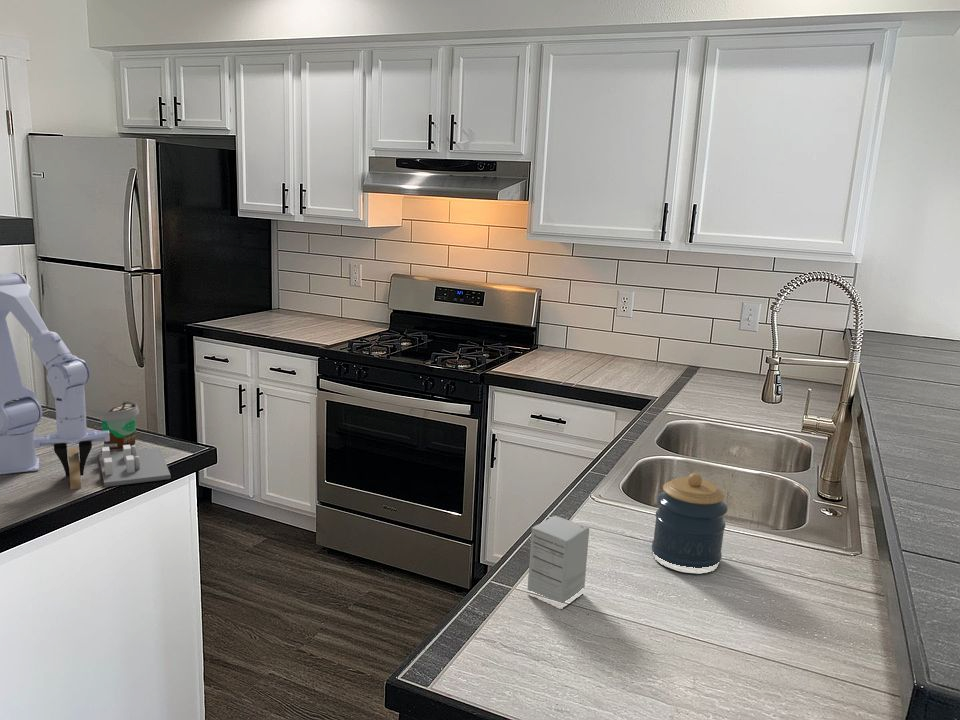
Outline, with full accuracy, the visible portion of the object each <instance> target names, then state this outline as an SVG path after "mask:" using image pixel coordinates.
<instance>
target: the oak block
mask: <svg viewBox="0 0 960 720" xmlns="http://www.w3.org/2000/svg"><path fill="white" fill-rule="evenodd" d="M67 457H68V464H69V473H70V477H69V484H70V485H69V486H70V489H69V490H78V489H82V483H81V476H80V454H79V447H73V448H72V447H71V448H69V447H68V448H67Z"/></svg>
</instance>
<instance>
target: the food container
mask: <svg viewBox="0 0 960 720" xmlns="http://www.w3.org/2000/svg"><path fill="white" fill-rule="evenodd" d="M139 414H140V410H139V406H138V405H137V402H134V401H132V400H126V399H125V400H123V399H122V404H120V405H118V406H115V407H112V408H111V409H110V410H109V411H101V412H100V417H99V421H100V422H101V427H102V428H101V429H102V431H108V430H109V435H110V441H103V446H104V447H109V449H110V451H117V450H118V451H119V450H123V445H130V446H133V445H136V435H137V433H136V432H137V416H138V415H139Z"/></svg>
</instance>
